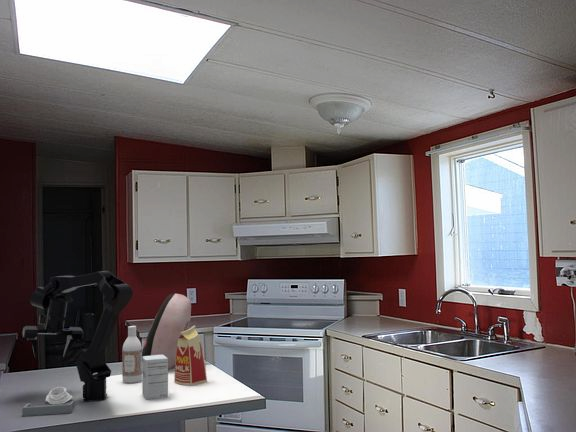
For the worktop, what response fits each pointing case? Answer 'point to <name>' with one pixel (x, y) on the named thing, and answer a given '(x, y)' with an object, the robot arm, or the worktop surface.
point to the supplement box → (155, 376)
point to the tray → (48, 409)
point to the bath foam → (132, 358)
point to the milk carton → (189, 359)
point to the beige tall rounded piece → (168, 328)
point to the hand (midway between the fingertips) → (49, 357)
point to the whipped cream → (58, 396)
